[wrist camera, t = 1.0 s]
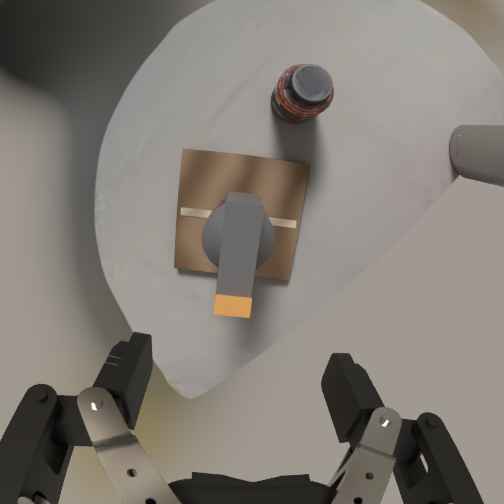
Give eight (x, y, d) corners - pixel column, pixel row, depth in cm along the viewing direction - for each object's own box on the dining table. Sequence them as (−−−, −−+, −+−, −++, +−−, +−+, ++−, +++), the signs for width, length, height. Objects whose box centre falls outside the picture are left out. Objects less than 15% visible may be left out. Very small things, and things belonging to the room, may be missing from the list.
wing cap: (208, 186, 28) (195, 199, 20) (278, 194, 28) (294, 211, 20) (201, 270, 31) (188, 311, 23) (265, 277, 31) (274, 320, 23)
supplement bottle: (323, 102, 34) (355, 85, 23) (295, 133, 35) (318, 125, 24) (289, 73, 32) (308, 44, 21) (260, 104, 34) (268, 83, 23)
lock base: (306, 164, 36) (326, 167, 28) (287, 276, 41) (299, 307, 33) (185, 149, 35) (168, 148, 27) (176, 264, 40) (161, 292, 32)
